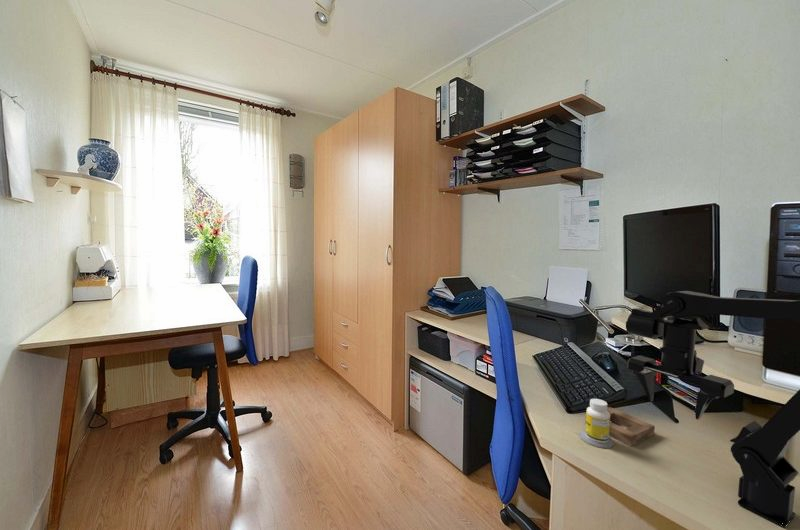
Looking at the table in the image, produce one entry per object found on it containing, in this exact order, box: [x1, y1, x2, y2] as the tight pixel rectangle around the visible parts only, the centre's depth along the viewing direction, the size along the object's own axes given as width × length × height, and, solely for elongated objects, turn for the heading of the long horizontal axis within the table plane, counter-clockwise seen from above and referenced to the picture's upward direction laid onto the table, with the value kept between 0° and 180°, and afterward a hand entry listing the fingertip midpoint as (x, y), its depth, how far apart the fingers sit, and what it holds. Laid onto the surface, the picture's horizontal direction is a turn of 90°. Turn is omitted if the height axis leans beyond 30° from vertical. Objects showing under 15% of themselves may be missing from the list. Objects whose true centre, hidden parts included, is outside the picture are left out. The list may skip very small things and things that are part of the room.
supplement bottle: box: [585, 398, 610, 443], centre depth 89 cm, size 5×5×10 cm
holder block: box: [584, 406, 656, 447], centre depth 94 cm, size 12×12×2 cm
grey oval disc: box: [578, 428, 615, 449], centre depth 89 cm, size 8×8×1 cm
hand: (673, 409), depth 79 cm, fingers open, 9 cm apart
